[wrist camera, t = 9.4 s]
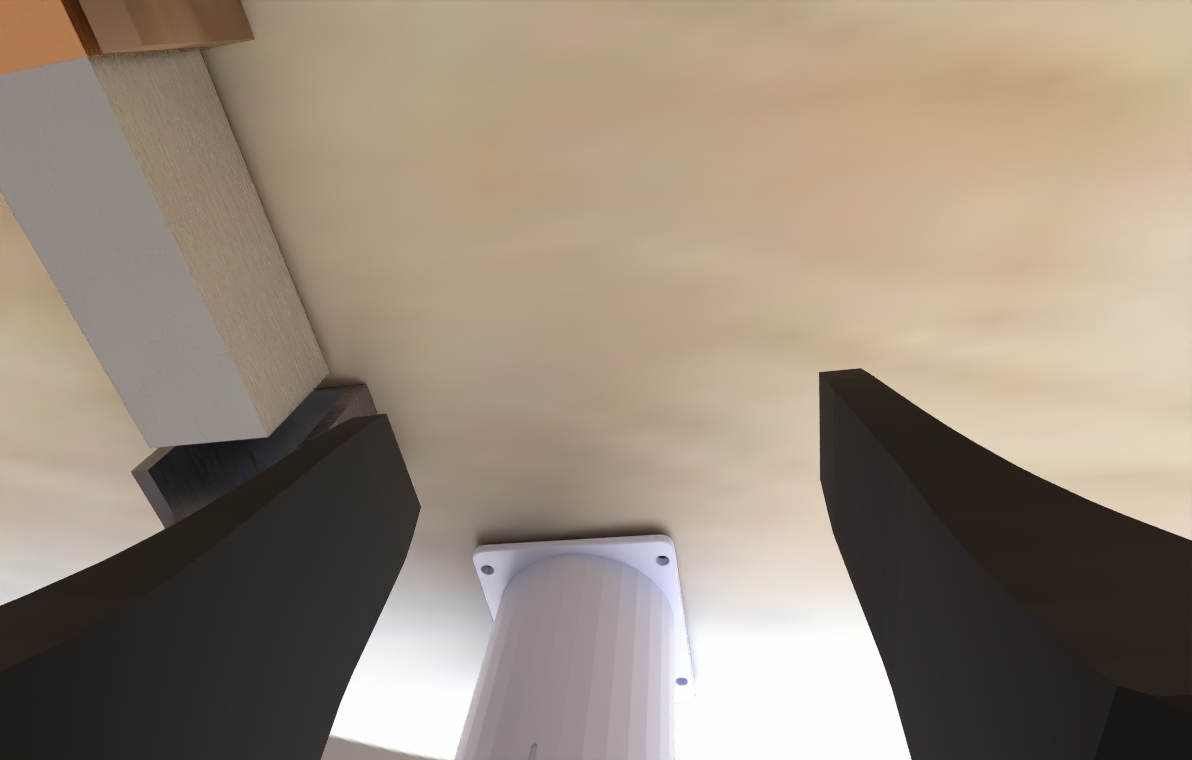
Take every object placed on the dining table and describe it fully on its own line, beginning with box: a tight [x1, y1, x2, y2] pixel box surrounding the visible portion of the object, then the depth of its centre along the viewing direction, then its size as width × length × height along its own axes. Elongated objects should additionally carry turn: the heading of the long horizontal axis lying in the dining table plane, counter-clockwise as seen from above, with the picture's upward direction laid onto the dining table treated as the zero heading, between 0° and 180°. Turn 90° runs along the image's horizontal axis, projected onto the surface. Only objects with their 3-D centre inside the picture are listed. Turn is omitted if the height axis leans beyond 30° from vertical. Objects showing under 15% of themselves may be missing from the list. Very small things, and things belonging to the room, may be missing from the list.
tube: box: [0, 0, 329, 448], centre depth 19 cm, size 12×4×4 cm, turn 10°
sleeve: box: [131, 384, 378, 529], centre depth 22 cm, size 4×6×5 cm
